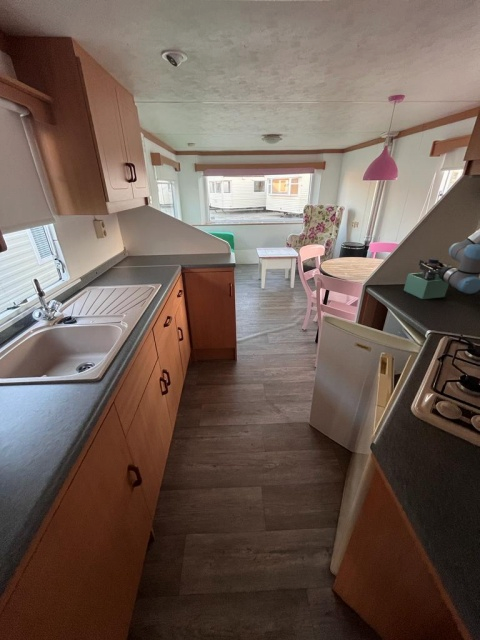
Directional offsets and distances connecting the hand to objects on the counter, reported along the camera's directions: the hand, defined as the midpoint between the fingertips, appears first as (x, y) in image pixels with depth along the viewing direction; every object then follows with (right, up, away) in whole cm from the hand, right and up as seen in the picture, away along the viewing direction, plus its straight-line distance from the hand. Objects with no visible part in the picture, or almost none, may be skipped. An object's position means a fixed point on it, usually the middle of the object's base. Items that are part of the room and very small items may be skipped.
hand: (427, 262), depth 143 cm
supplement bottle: (0, -10, -1) cm, 10 cm away
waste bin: (0, -16, +3) cm, 17 cm away
